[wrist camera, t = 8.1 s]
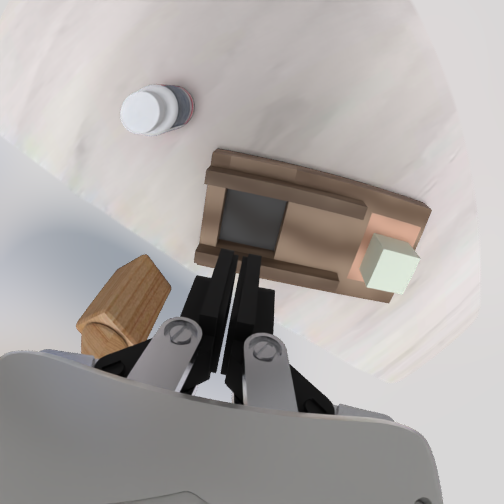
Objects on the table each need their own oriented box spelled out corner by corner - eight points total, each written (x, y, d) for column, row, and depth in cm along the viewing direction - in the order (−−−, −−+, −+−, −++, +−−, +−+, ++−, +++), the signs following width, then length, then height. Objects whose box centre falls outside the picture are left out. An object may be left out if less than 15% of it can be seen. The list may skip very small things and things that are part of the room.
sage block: (373, 232, 33) (383, 248, 30) (408, 242, 33) (420, 258, 30) (359, 268, 36) (366, 287, 32) (392, 276, 36) (402, 294, 32)
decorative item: (142, 301, 44) (87, 405, 27) (116, 268, 42) (45, 366, 24) (174, 287, 42) (122, 401, 25) (147, 250, 40) (73, 356, 22)
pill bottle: (182, 77, 29) (152, 72, 21) (202, 116, 31) (177, 122, 23) (144, 100, 30) (105, 104, 22) (163, 137, 32) (129, 151, 25)
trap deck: (217, 148, 33) (208, 155, 29) (423, 202, 33) (438, 216, 29) (201, 254, 39) (192, 273, 36) (384, 292, 40) (392, 312, 36)
